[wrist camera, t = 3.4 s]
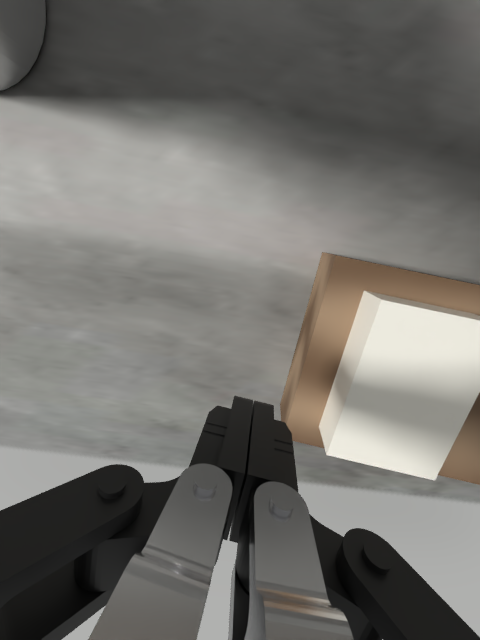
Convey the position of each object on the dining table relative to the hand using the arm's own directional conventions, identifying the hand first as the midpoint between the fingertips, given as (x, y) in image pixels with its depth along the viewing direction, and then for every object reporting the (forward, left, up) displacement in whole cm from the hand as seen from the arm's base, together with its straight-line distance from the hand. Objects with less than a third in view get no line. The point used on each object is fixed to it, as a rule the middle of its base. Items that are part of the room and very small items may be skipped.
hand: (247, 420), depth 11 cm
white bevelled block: (0, +8, -7) cm, 11 cm away
